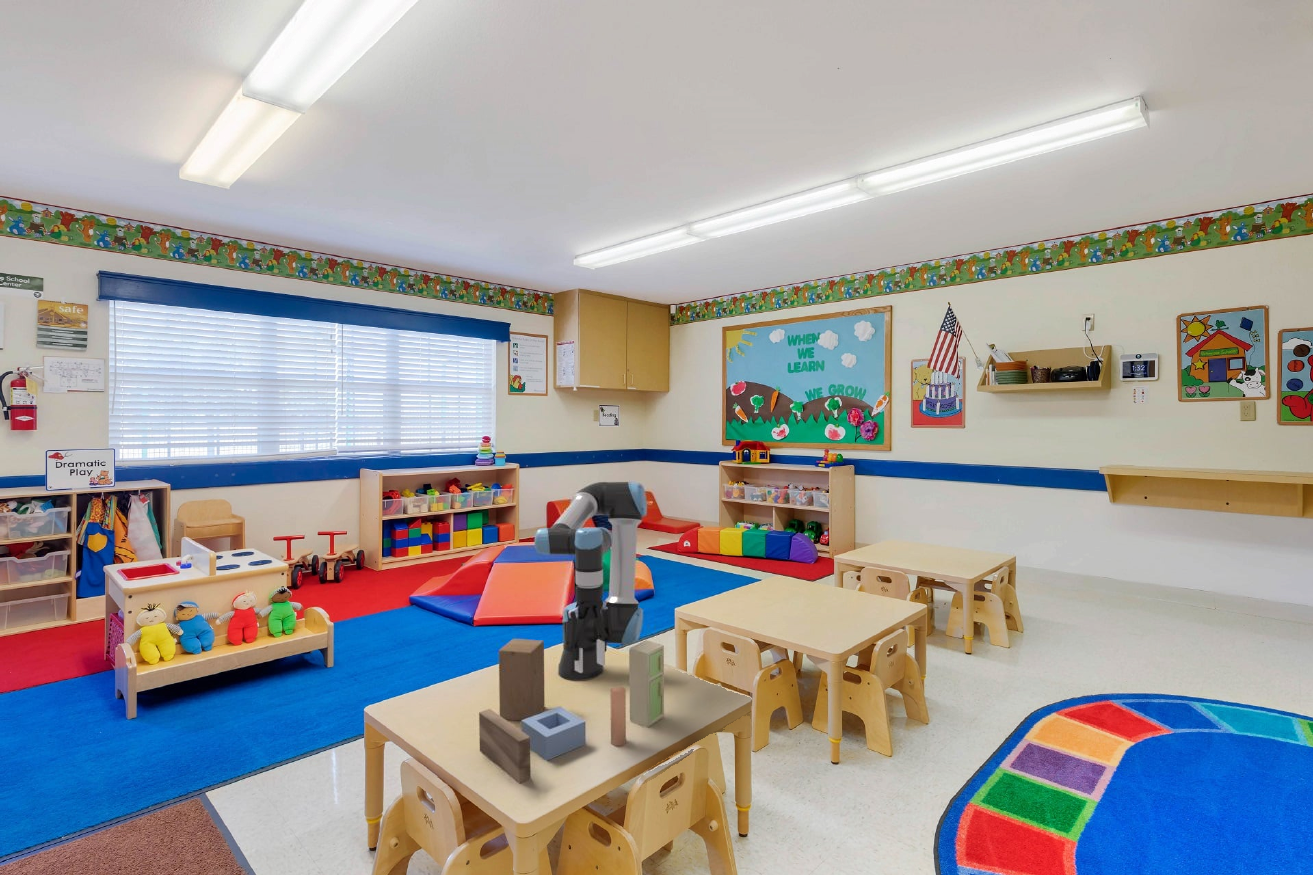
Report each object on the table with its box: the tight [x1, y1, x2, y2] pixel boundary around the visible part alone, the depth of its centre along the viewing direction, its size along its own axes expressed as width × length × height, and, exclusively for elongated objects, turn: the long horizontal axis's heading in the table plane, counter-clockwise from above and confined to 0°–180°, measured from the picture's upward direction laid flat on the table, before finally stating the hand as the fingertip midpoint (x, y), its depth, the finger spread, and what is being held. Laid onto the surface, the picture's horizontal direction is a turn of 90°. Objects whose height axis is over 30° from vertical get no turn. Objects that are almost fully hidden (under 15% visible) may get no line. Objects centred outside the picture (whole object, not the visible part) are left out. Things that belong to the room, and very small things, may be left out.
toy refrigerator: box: [628, 640, 665, 728], centre depth 179 cm, size 8×7×21 cm
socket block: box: [521, 705, 587, 761], centre depth 166 cm, size 12×12×6 cm
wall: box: [478, 708, 532, 784], centre depth 156 cm, size 3×20×10 cm, turn 42°
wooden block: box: [498, 638, 546, 722], centre depth 183 cm, size 10×10×20 cm
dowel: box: [609, 686, 627, 747], centre depth 166 cm, size 4×4×14 cm
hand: (589, 667), depth 174 cm, fingers open, 7 cm apart
